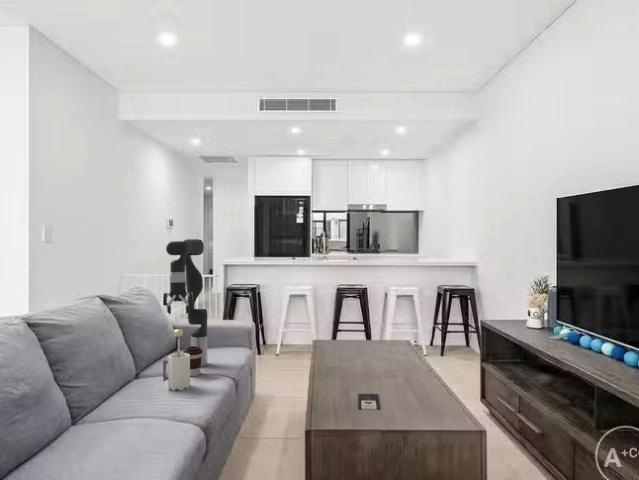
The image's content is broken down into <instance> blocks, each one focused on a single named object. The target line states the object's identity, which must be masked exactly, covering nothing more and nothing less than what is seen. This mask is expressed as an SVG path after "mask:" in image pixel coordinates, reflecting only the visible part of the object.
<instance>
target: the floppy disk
mask: <svg viewBox="0 0 639 480" xmlns="http://www.w3.org/2000/svg"><path fill="white" fill-rule="evenodd" d="M357 394H358V395H357V397H358V398H357V399H358V403H357V404H358V410H380V402H379V394H378V393H357Z"/></svg>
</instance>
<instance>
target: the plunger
mask: <svg viewBox="0 0 639 480" xmlns="http://www.w3.org/2000/svg"><path fill="white" fill-rule="evenodd" d="M183 330H184V329H182V328H181V329H180V328H178V329H174V337H175V338H177V353H178V358H180V353H181V337H183V336H184V331H183Z"/></svg>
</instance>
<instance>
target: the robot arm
mask: <svg viewBox="0 0 639 480" xmlns="http://www.w3.org/2000/svg"><path fill="white" fill-rule="evenodd" d="M165 250H166V254H168V255H169V256H179V257H178V258H177V259H173V260H171V261H170V265H169V266H170V275H169V287H170V288H169V292H164V293H163V298H162V299H163V301H162V305H163V306H166V310H167V313H168V315H171V313H172V306H171V305H172V304H173V302H175V303H177V302H183V303H184V304H185V313H186V314H187V322H188V324H189V325H192V326H193V325H194V326H196V325H198V326H199V325H200V327H198V328H196V329H195V330H192V331H191V333H190V347H191V346H198V347H200V349H202V353H201V356H202V359H201V368H203V367H207V366H208V311H207V310H208V309H206V308H195V303H196V301H197V299H198V297H199V296H200V294H201V292H202V290H203V288H204V286H203V285H204V283H203V276H202V274H201V273H202V272H200V270H199V269H198V268H197V267H196V265H195V264H194V262H193V258H192V256H200V255H202V254H203V253H204V250H205V246H204V242H203V240H201V239H197V238H192V239H191V238H190V239H189V238H186V239H184V240H183V241H182V240H177V241H175V240H174V241H173V240H172V241H169V242H167V244H166V246H165ZM168 297H170V300H169V301H168Z"/></svg>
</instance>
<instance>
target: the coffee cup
mask: <svg viewBox="0 0 639 480" xmlns="http://www.w3.org/2000/svg"><path fill="white" fill-rule="evenodd" d="M183 353H187V354H190V376H193V377H198V376H200V375H201V368H202V367H201V359H202V356H201V353H202V349H200V347H198V346H191V345H190V346H188V347H186V349H185V350H184V351H183Z"/></svg>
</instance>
